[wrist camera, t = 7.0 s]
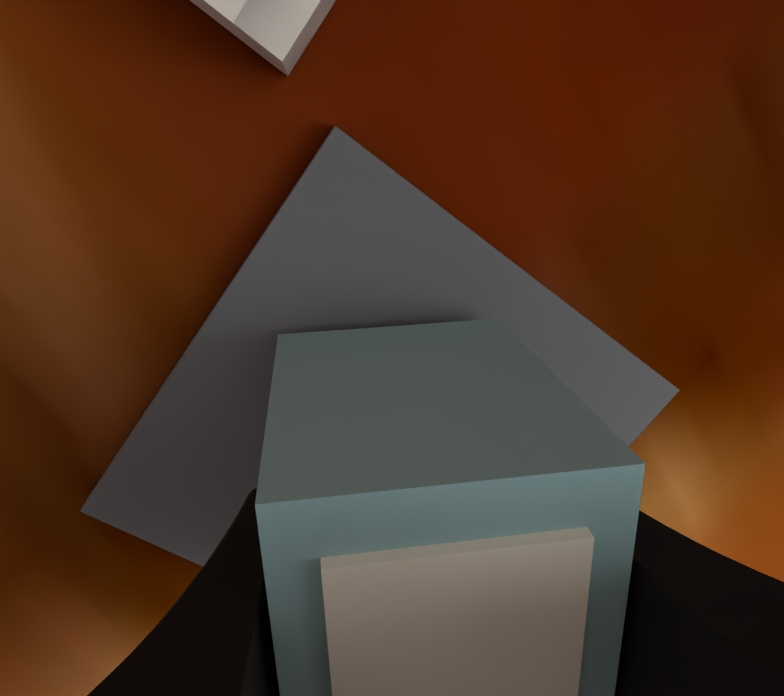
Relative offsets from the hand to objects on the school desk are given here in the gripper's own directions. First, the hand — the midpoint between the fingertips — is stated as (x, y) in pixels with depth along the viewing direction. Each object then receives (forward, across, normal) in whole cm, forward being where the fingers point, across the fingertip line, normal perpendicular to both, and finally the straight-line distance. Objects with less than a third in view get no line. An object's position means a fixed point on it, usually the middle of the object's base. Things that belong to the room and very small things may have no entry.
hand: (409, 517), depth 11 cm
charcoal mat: (+3, 0, 0) cm, 3 cm away
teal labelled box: (+2, 0, 0) cm, 2 cm away
